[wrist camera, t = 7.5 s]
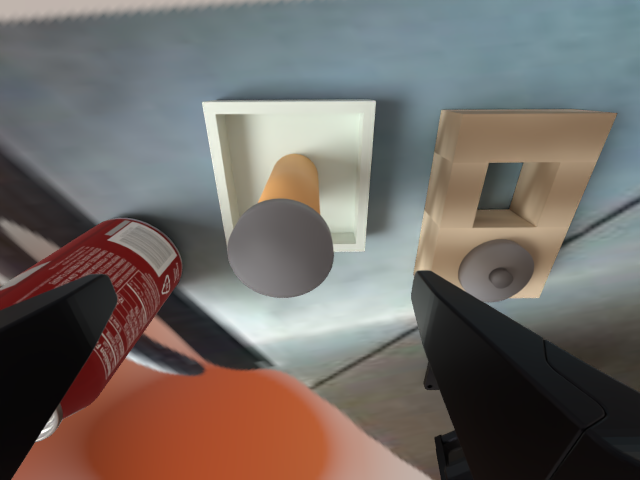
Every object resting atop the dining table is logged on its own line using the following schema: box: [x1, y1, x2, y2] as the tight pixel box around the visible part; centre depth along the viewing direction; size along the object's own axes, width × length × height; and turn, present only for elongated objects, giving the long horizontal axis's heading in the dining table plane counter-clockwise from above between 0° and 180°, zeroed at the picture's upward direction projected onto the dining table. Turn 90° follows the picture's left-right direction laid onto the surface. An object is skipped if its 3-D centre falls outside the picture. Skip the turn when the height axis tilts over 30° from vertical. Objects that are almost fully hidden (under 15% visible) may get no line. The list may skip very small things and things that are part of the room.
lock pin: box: [227, 154, 334, 298], centre depth 15 cm, size 4×4×10 cm
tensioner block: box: [413, 109, 617, 302], centre depth 19 cm, size 12×8×4 cm, turn 0°
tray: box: [202, 99, 376, 252], centre depth 19 cm, size 9×9×2 cm
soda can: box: [0, 218, 183, 442], centre depth 17 cm, size 7×7×12 cm
